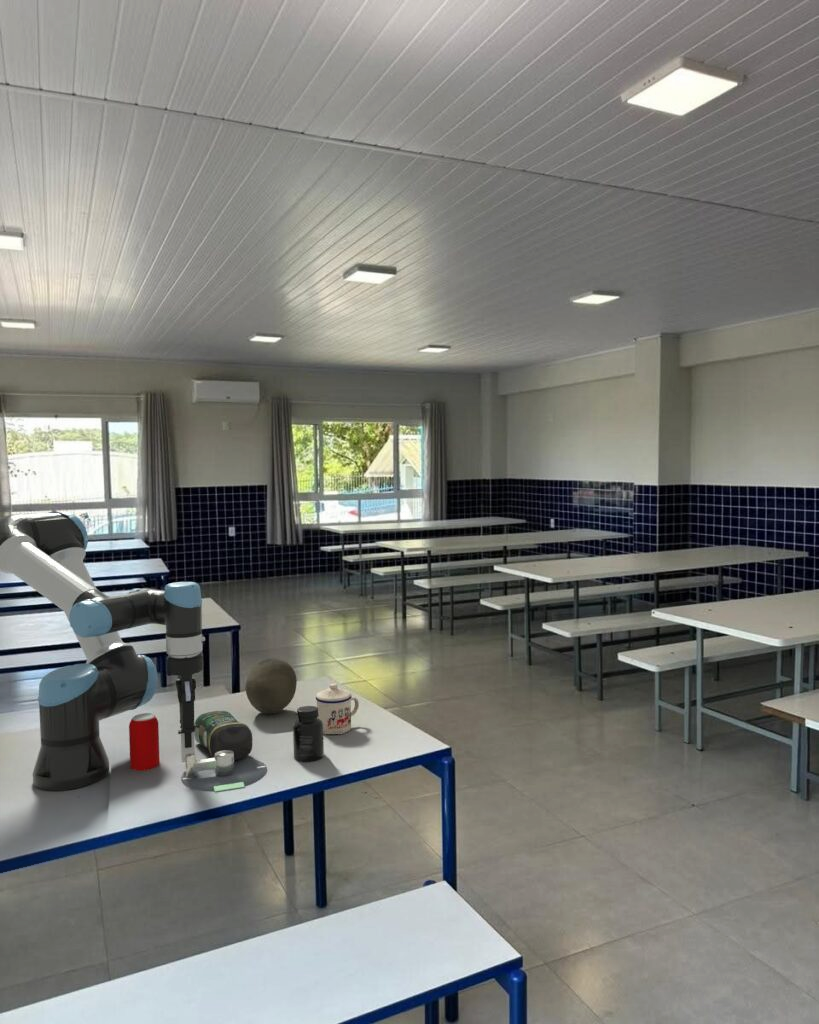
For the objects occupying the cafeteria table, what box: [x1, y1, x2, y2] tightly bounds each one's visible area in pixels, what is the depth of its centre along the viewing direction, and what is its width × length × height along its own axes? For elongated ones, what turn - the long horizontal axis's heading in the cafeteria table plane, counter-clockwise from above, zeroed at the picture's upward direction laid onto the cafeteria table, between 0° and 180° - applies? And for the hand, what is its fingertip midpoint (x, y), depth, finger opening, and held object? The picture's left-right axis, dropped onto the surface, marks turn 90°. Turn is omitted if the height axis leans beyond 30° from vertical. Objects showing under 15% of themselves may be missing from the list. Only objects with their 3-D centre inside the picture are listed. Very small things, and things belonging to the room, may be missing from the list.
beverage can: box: [128, 712, 161, 772], centre depth 164 cm, size 6×6×12 cm
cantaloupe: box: [245, 657, 298, 715], centre depth 200 cm, size 14×14×15 cm
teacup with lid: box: [315, 683, 360, 735], centre depth 189 cm, size 12×9×12 cm
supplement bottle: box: [292, 705, 325, 763], centre depth 168 cm, size 7×7×12 cm
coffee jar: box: [194, 710, 253, 760], centre depth 172 cm, size 10×8×19 cm
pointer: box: [185, 750, 234, 778], centre depth 158 cm, size 10×4×5 cm, turn 111°
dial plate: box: [180, 757, 268, 793], centre depth 159 cm, size 18×18×1 cm
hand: (188, 760), depth 161 cm, fingers closed
